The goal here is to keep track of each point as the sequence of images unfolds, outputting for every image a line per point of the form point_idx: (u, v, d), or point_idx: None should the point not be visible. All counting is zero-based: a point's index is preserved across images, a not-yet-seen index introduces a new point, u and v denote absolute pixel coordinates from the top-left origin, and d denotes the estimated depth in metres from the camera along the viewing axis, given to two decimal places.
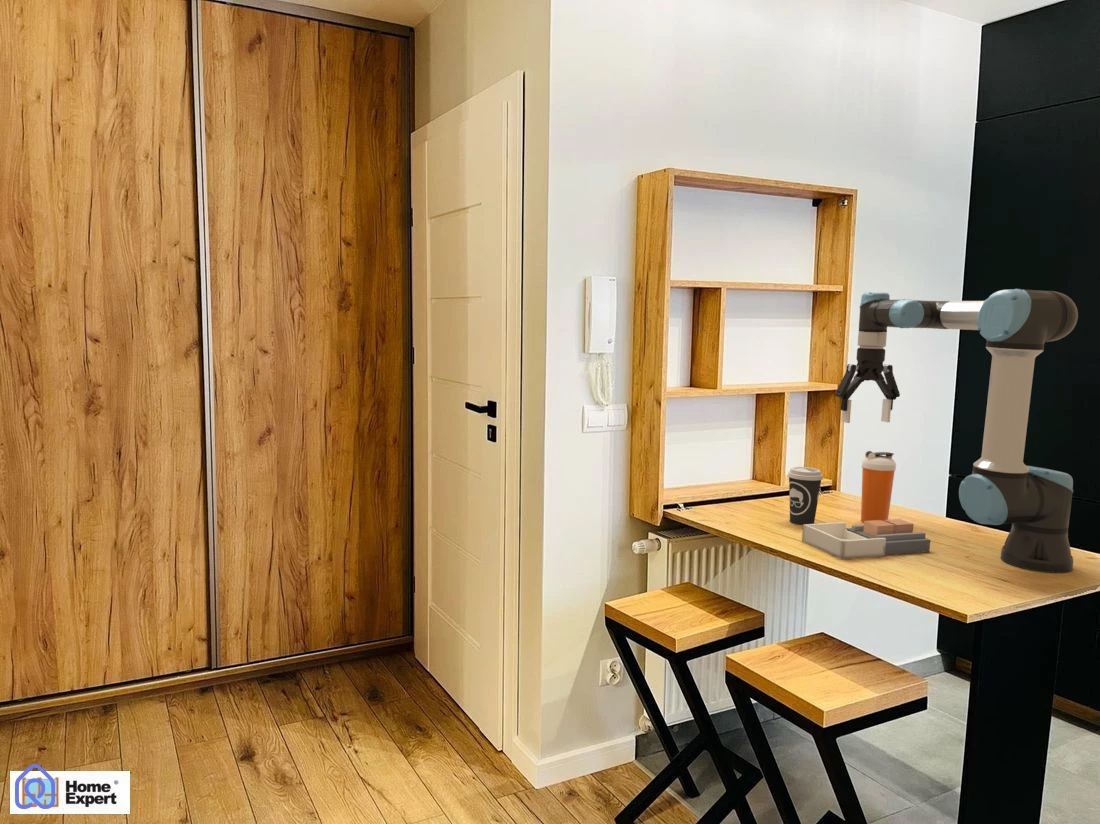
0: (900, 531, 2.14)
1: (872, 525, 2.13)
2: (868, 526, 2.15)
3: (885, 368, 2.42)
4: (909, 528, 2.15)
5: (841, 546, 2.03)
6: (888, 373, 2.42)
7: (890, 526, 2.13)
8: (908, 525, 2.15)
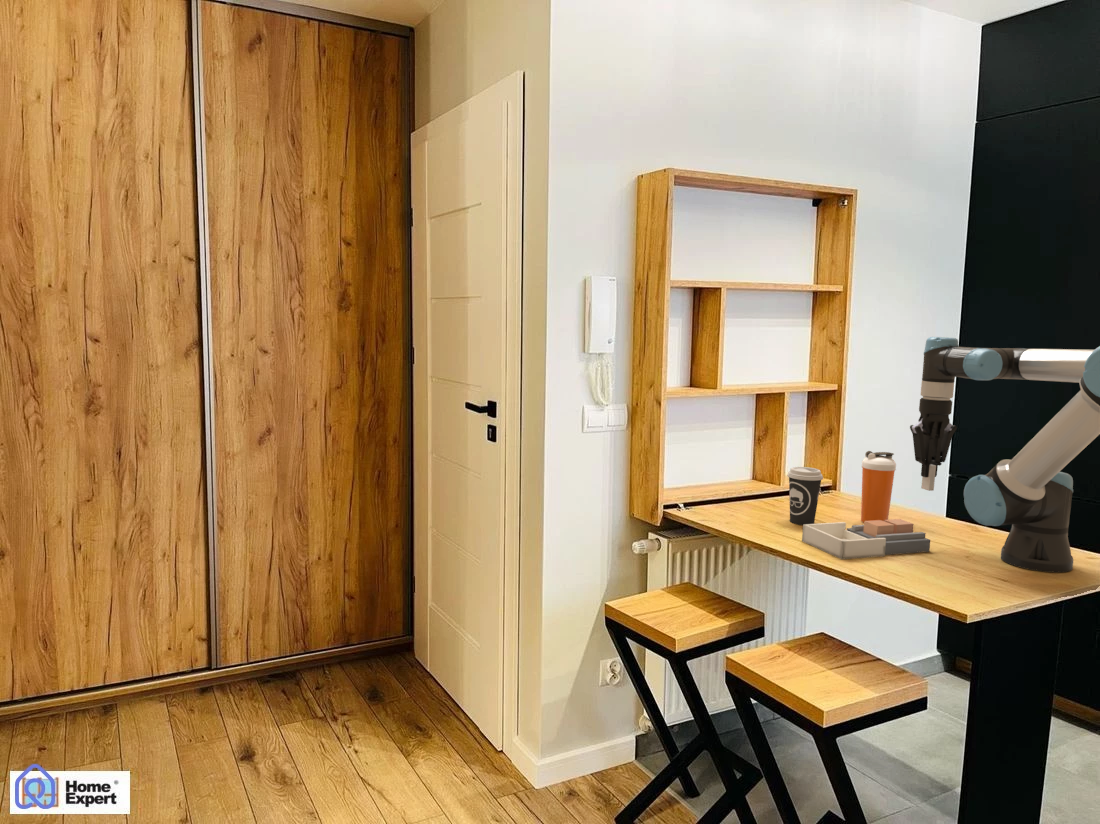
0: (900, 531, 2.14)
1: (872, 525, 2.13)
2: (868, 526, 2.15)
3: (949, 426, 2.17)
4: (909, 528, 2.15)
5: (841, 546, 2.03)
6: (948, 432, 2.17)
7: (890, 526, 2.13)
8: (908, 525, 2.15)
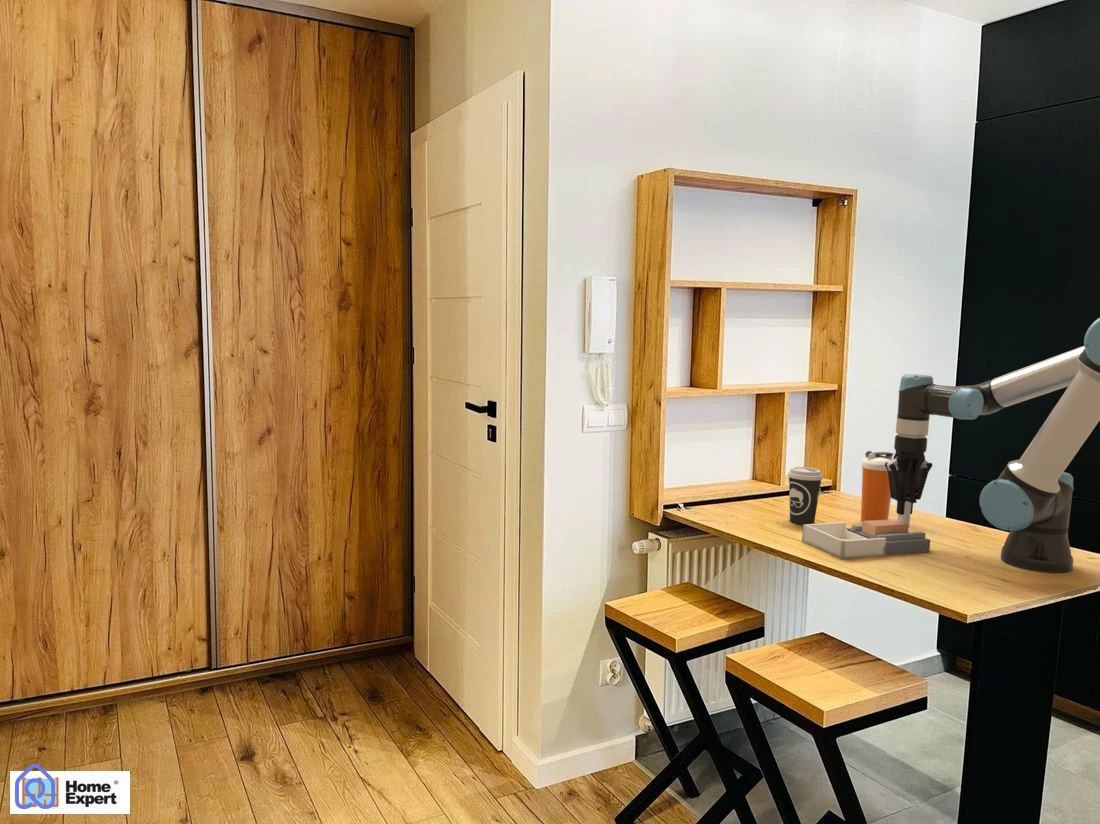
0: (895, 531, 2.14)
1: (870, 525, 2.13)
2: (867, 526, 2.15)
3: (924, 463, 2.16)
4: (904, 528, 2.14)
5: (841, 546, 2.03)
6: (924, 469, 2.16)
7: (888, 526, 2.13)
8: (903, 525, 2.14)
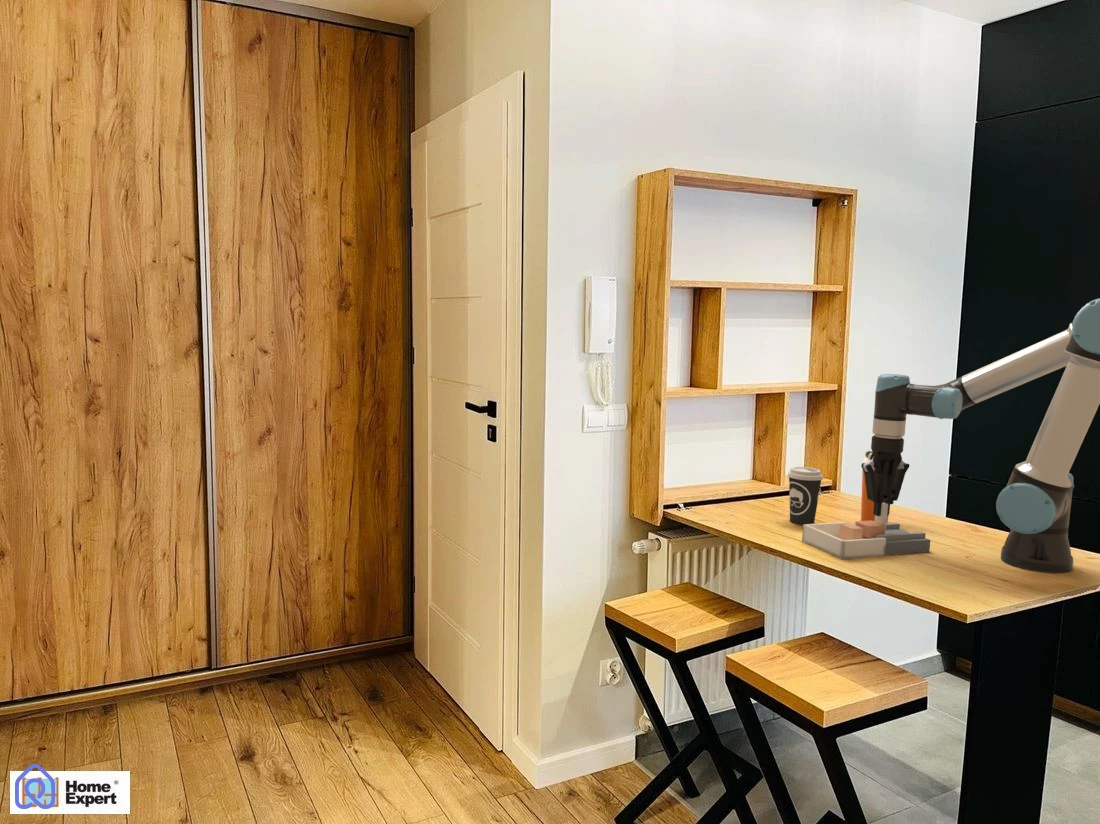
0: (871, 533, 2.11)
1: None
2: None
3: (901, 463, 2.14)
4: (880, 529, 2.12)
5: (841, 546, 2.03)
6: (901, 470, 2.14)
7: (853, 533, 2.10)
8: (880, 527, 2.12)
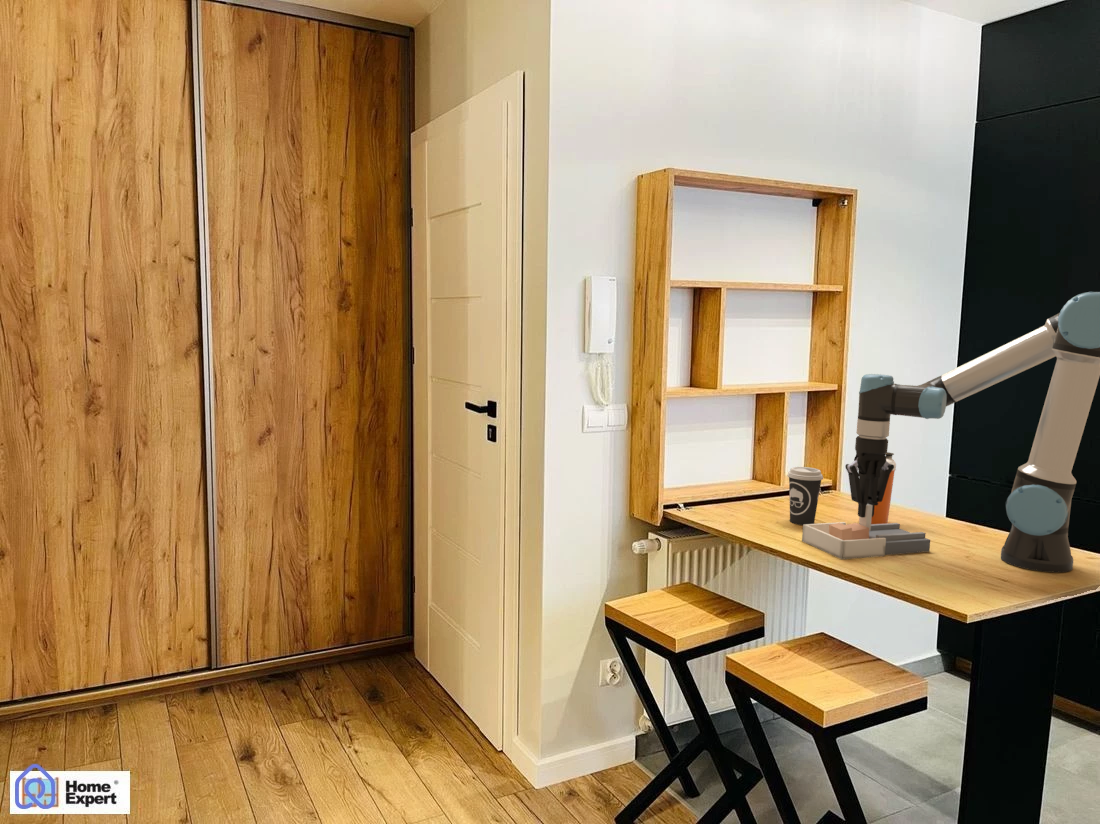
0: (856, 537, 2.10)
1: None
2: None
3: (886, 464, 2.13)
4: (864, 532, 2.11)
5: (841, 546, 2.03)
6: (885, 471, 2.12)
7: (842, 533, 2.09)
8: (863, 530, 2.10)
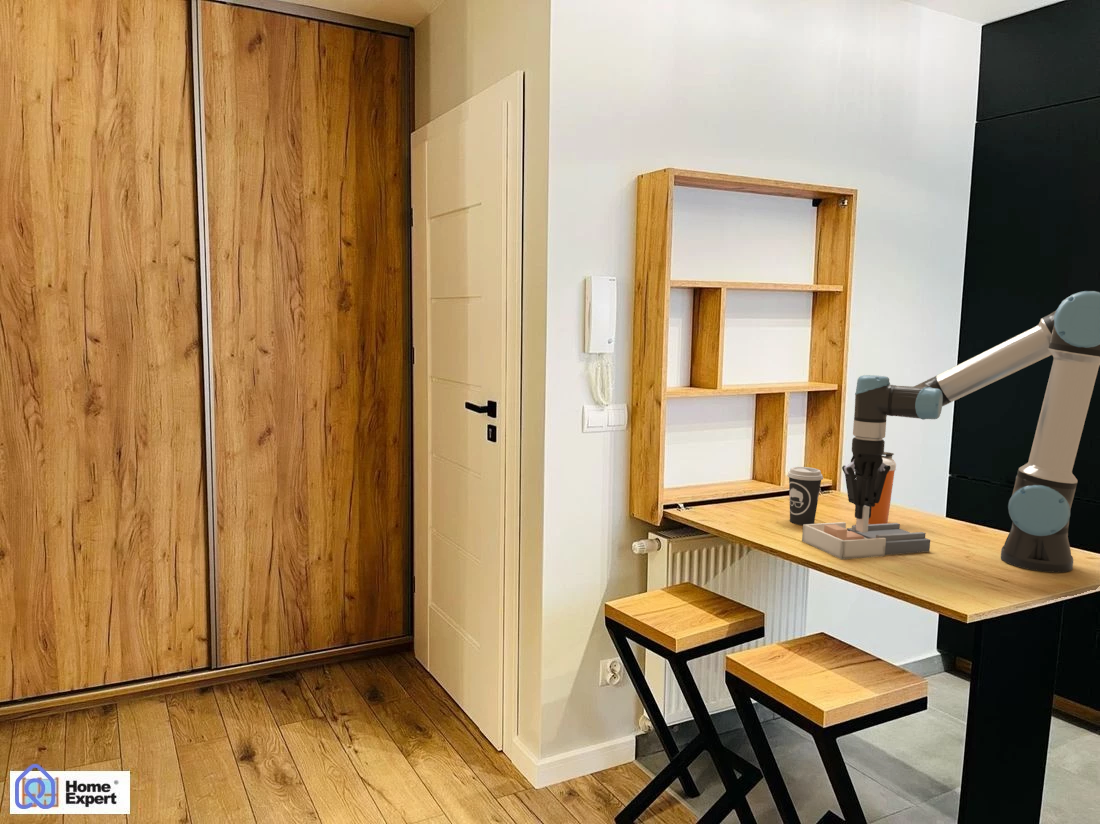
0: None
1: None
2: None
3: (882, 466, 2.12)
4: None
5: (841, 546, 2.03)
6: (882, 472, 2.12)
7: (837, 534, 2.08)
8: (858, 538, 2.10)
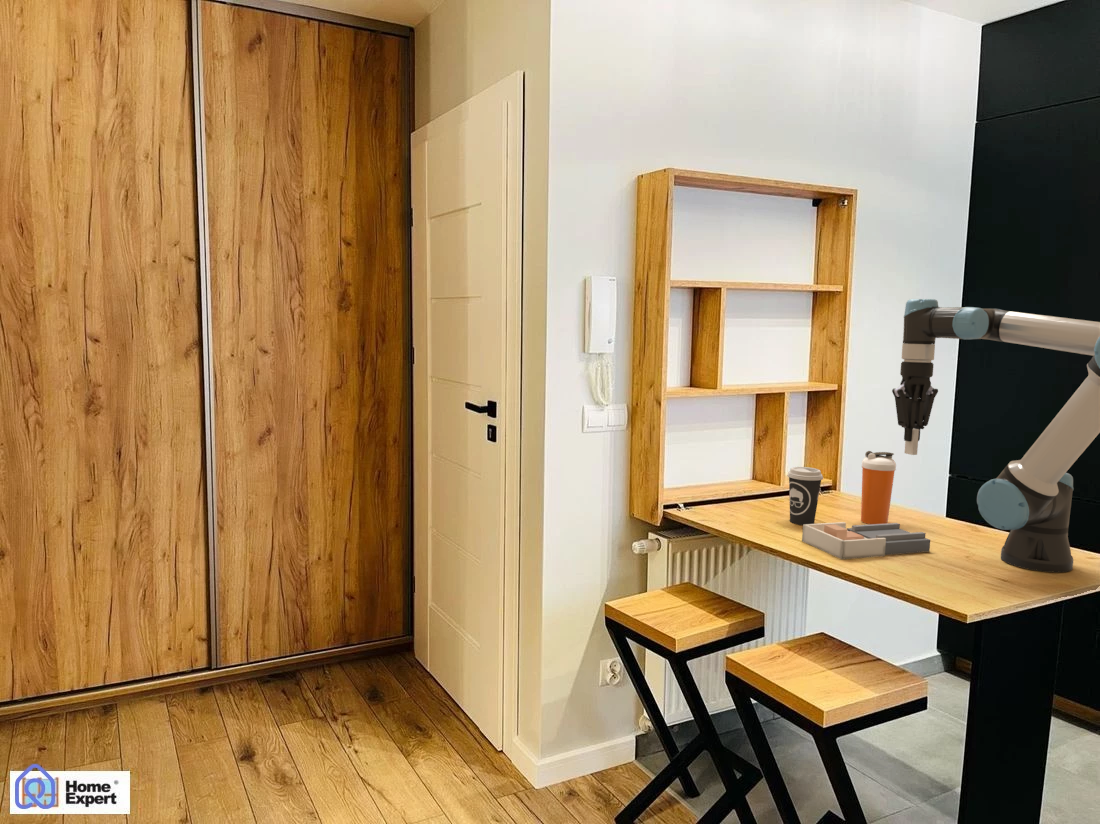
0: None
1: None
2: None
3: (930, 389, 2.15)
4: None
5: (841, 546, 2.03)
6: (930, 395, 2.15)
7: (837, 534, 2.08)
8: (858, 538, 2.10)
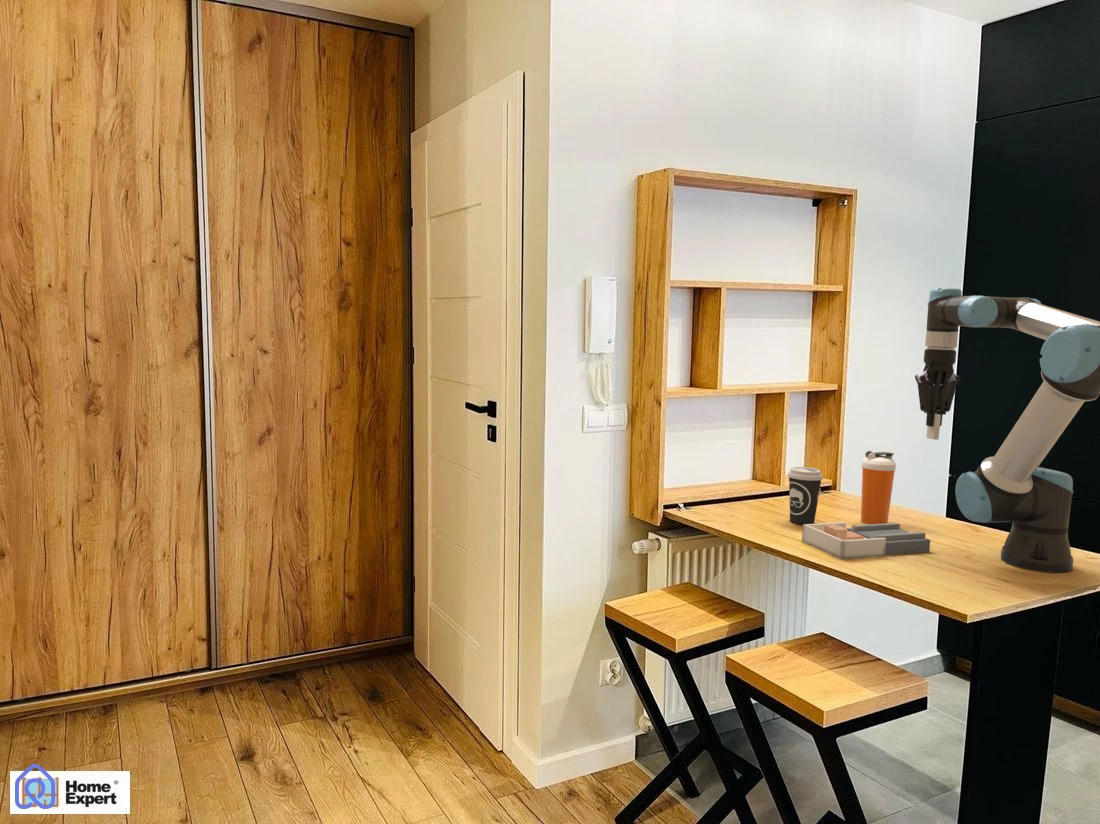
0: None
1: None
2: None
3: (953, 376, 2.22)
4: None
5: (841, 546, 2.03)
6: (953, 382, 2.21)
7: (837, 534, 2.08)
8: (858, 538, 2.10)
